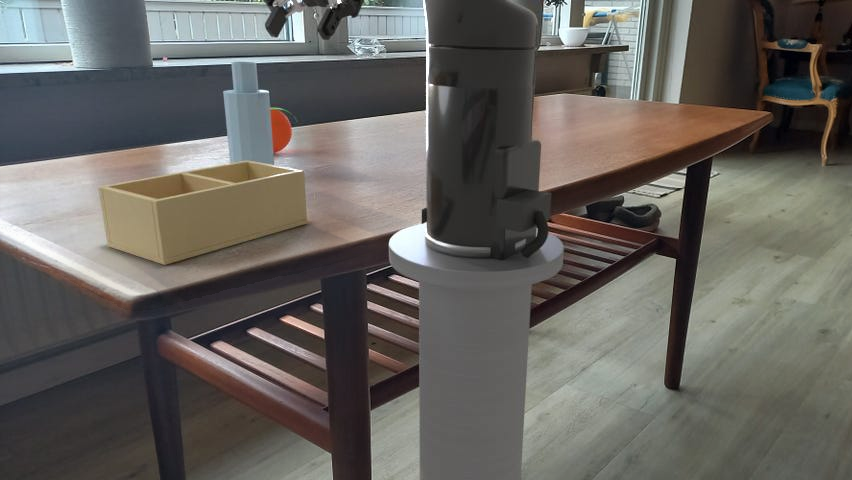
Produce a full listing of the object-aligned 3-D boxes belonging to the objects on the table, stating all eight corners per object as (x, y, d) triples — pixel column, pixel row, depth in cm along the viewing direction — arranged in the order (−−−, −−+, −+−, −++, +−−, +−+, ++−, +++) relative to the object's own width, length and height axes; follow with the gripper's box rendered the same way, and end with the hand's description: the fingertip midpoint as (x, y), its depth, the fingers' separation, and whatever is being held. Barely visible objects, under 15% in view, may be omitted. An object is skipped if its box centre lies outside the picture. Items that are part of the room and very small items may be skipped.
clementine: (294, 147, 112) (291, 102, 109) (304, 155, 106) (302, 108, 103) (243, 150, 108) (239, 104, 106) (251, 158, 102) (246, 109, 100)
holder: (307, 223, 71) (304, 170, 69) (164, 265, 58) (155, 201, 56) (252, 210, 75) (248, 160, 73) (107, 246, 62) (97, 186, 60)
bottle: (284, 177, 91) (276, 62, 86) (250, 184, 86) (239, 64, 81) (256, 171, 93) (247, 60, 89) (222, 178, 89) (210, 61, 84)
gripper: (287, -72, 99) (238, 11, 93) (373, -74, 94) (327, 14, 87) (311, -29, 105) (267, 52, 99) (393, -29, 100) (352, 56, 94)
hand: (296, 34), depth 93 cm, fingers open, 8 cm apart
